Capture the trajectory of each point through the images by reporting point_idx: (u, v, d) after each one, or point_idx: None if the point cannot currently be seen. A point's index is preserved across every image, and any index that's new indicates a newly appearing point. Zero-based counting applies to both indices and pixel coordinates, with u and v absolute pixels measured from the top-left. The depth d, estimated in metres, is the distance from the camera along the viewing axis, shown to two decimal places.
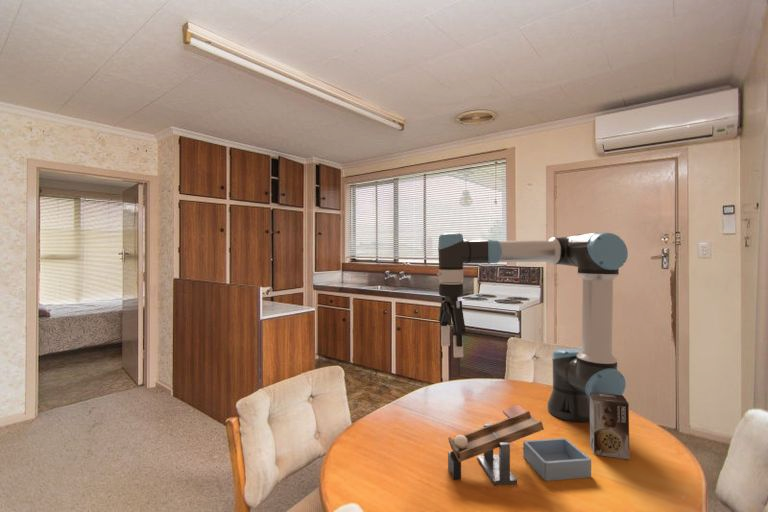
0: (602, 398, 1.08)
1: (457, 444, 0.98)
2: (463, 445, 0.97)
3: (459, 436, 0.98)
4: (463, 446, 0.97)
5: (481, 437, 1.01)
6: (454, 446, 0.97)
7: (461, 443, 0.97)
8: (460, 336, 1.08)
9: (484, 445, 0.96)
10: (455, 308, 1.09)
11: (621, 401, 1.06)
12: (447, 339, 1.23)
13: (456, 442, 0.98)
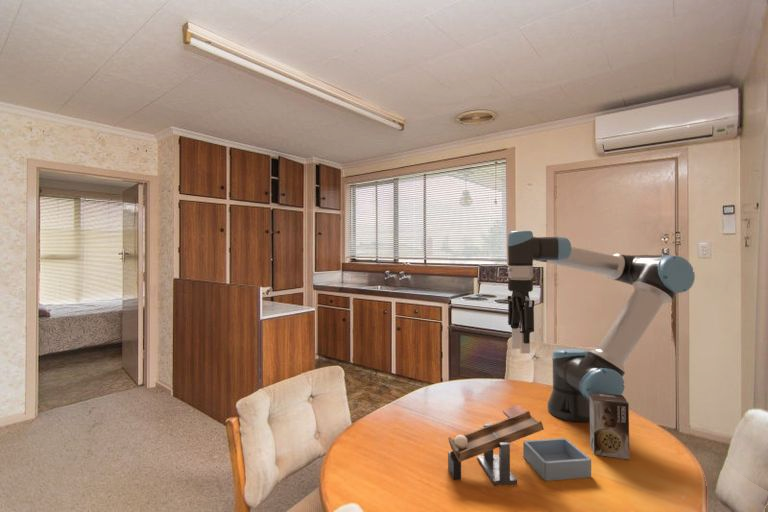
0: (602, 398, 1.08)
1: (457, 444, 0.98)
2: (463, 445, 0.97)
3: (459, 436, 0.98)
4: (463, 446, 0.97)
5: (481, 437, 1.01)
6: (454, 446, 0.97)
7: (461, 443, 0.97)
8: (528, 333, 1.16)
9: (484, 445, 0.96)
10: (527, 307, 1.14)
11: (621, 401, 1.06)
12: (518, 342, 1.23)
13: (456, 442, 0.98)
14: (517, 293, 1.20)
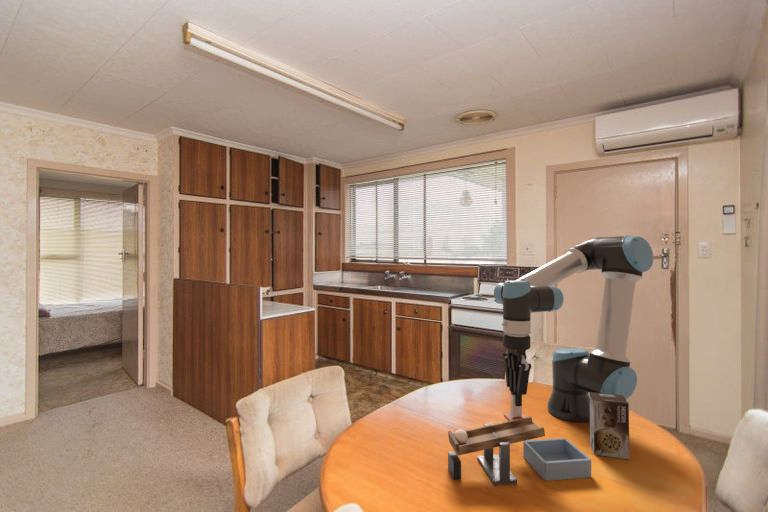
0: (602, 398, 1.08)
1: (457, 438, 0.97)
2: (463, 440, 0.97)
3: (460, 430, 0.98)
4: (463, 441, 0.97)
5: (481, 435, 1.01)
6: (454, 439, 0.97)
7: (461, 438, 0.97)
8: (520, 396, 1.06)
9: (484, 442, 0.96)
10: (522, 371, 1.02)
11: (621, 401, 1.06)
12: None
13: (456, 436, 0.98)
14: (513, 350, 1.07)
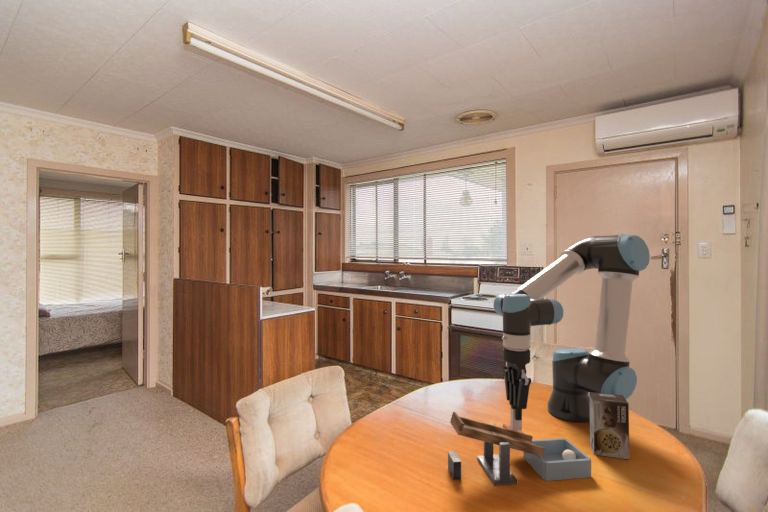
0: (602, 398, 1.08)
1: (567, 459, 1.01)
2: None
3: (568, 451, 1.02)
4: None
5: (482, 429, 1.01)
6: (459, 419, 0.97)
7: (571, 458, 1.01)
8: (520, 410, 1.06)
9: (487, 435, 0.96)
10: (522, 386, 1.02)
11: (621, 401, 1.06)
12: None
13: (566, 457, 1.01)
14: (513, 364, 1.07)
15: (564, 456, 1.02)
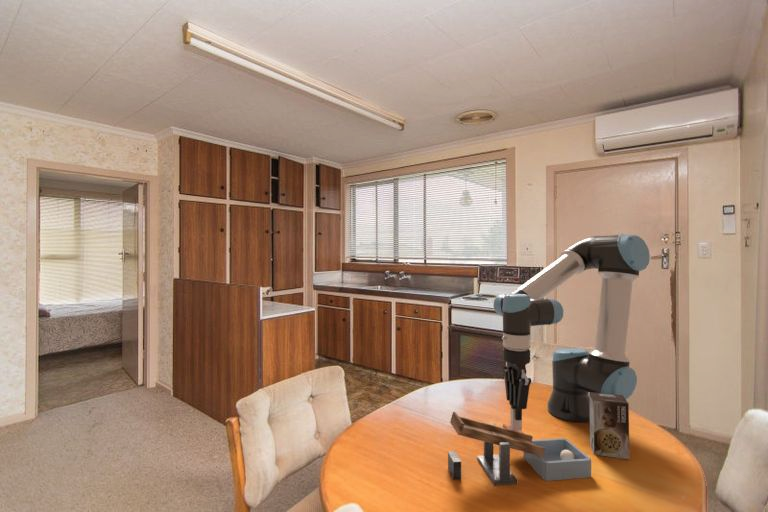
0: (602, 398, 1.08)
1: None
2: None
3: (564, 452, 1.02)
4: None
5: (482, 429, 1.01)
6: (459, 419, 0.97)
7: (569, 459, 1.01)
8: (520, 410, 1.06)
9: (487, 435, 0.96)
10: (522, 386, 1.02)
11: (621, 401, 1.06)
12: None
13: (563, 459, 1.01)
14: (513, 364, 1.07)
15: (562, 458, 1.02)
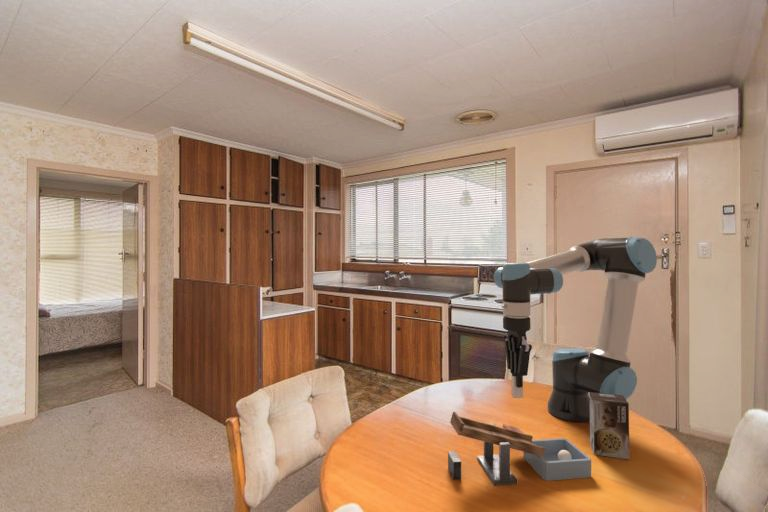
0: (602, 398, 1.08)
1: None
2: None
3: (560, 454, 1.02)
4: None
5: (482, 429, 1.01)
6: (459, 419, 0.97)
7: None
8: (520, 377, 1.06)
9: (487, 435, 0.96)
10: (523, 352, 1.03)
11: (621, 401, 1.06)
12: None
13: None
14: (513, 332, 1.08)
15: None
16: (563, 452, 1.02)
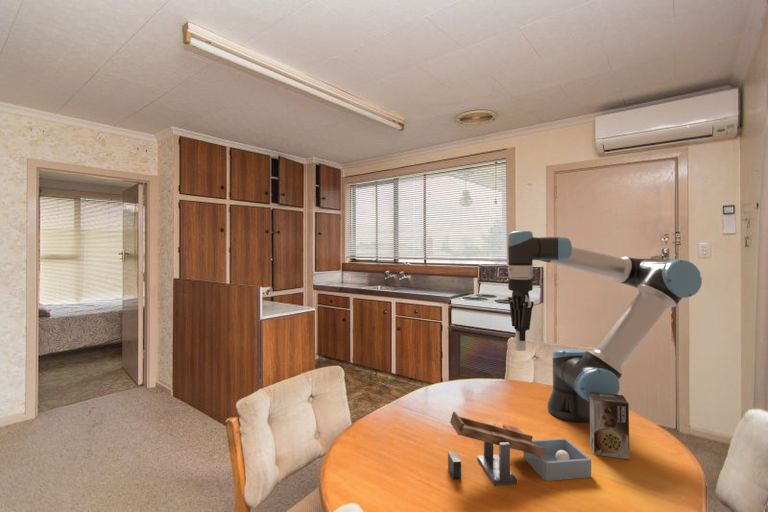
0: (602, 398, 1.08)
1: None
2: None
3: (557, 456, 1.02)
4: None
5: (482, 429, 1.01)
6: (459, 419, 0.97)
7: None
8: (523, 331, 1.21)
9: (487, 435, 0.96)
10: (526, 308, 1.17)
11: (621, 401, 1.06)
12: None
13: None
14: (517, 292, 1.22)
15: None
16: (559, 454, 1.02)
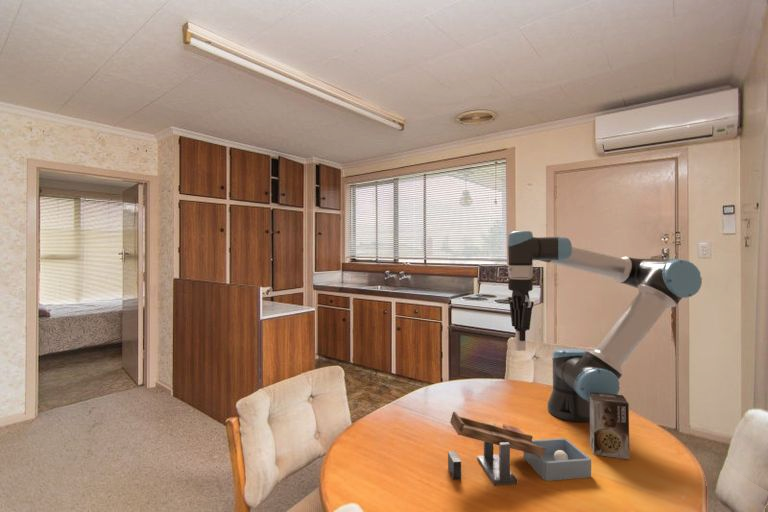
0: (602, 398, 1.08)
1: None
2: None
3: (555, 458, 1.02)
4: None
5: (482, 429, 1.01)
6: (459, 419, 0.97)
7: None
8: (523, 331, 1.21)
9: (487, 435, 0.96)
10: (526, 308, 1.17)
11: (621, 401, 1.06)
12: None
13: None
14: (517, 292, 1.22)
15: None
16: (556, 455, 1.01)
